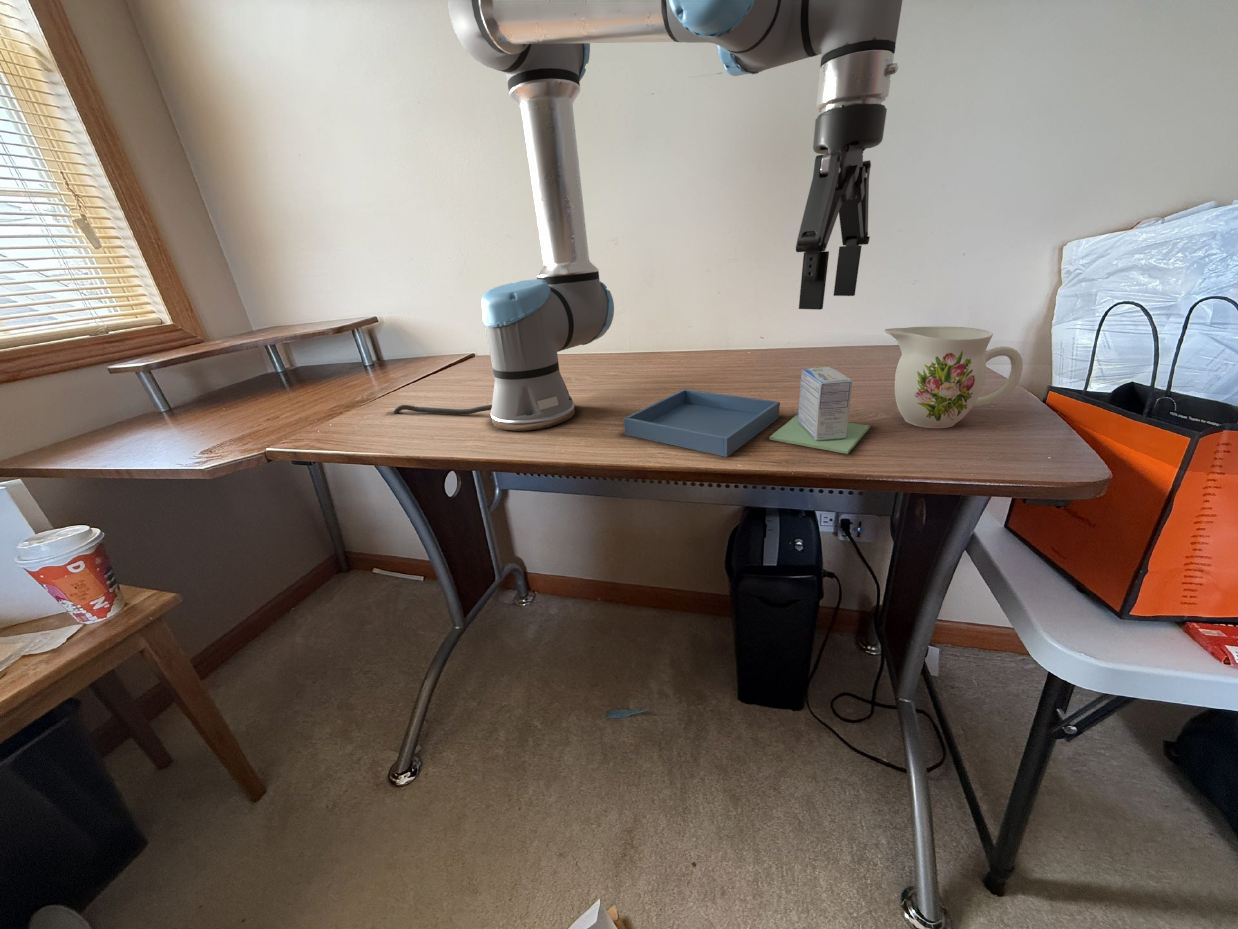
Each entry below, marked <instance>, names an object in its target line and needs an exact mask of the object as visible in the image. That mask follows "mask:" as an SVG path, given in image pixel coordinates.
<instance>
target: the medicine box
mask: <svg viewBox="0 0 1238 929" xmlns="http://www.w3.org/2000/svg"><path fill="white" fill-rule="evenodd" d="M799 384H800V386H799V400H798V409H797V410H798V412H797V415H798V423H799V424H800V425H801V426H802V427H803V428H804V429H805V430H806V431H807V432H808V433H809V434H810V435H811V436H812V437H813V438H814V439H815V440H834V439H844V438H846V435H847V425H848V422H849V417H850V406H851V397H852V391H853V390H852V389H853V379H852V378H850V377H849V376H847V375H845V374H843V373H842V372H840V371H838V370H836V369H834V368H833V367H831V366H822V367H821V366H819V367H810V368H805V369H801V374H800V383H799Z"/></svg>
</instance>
